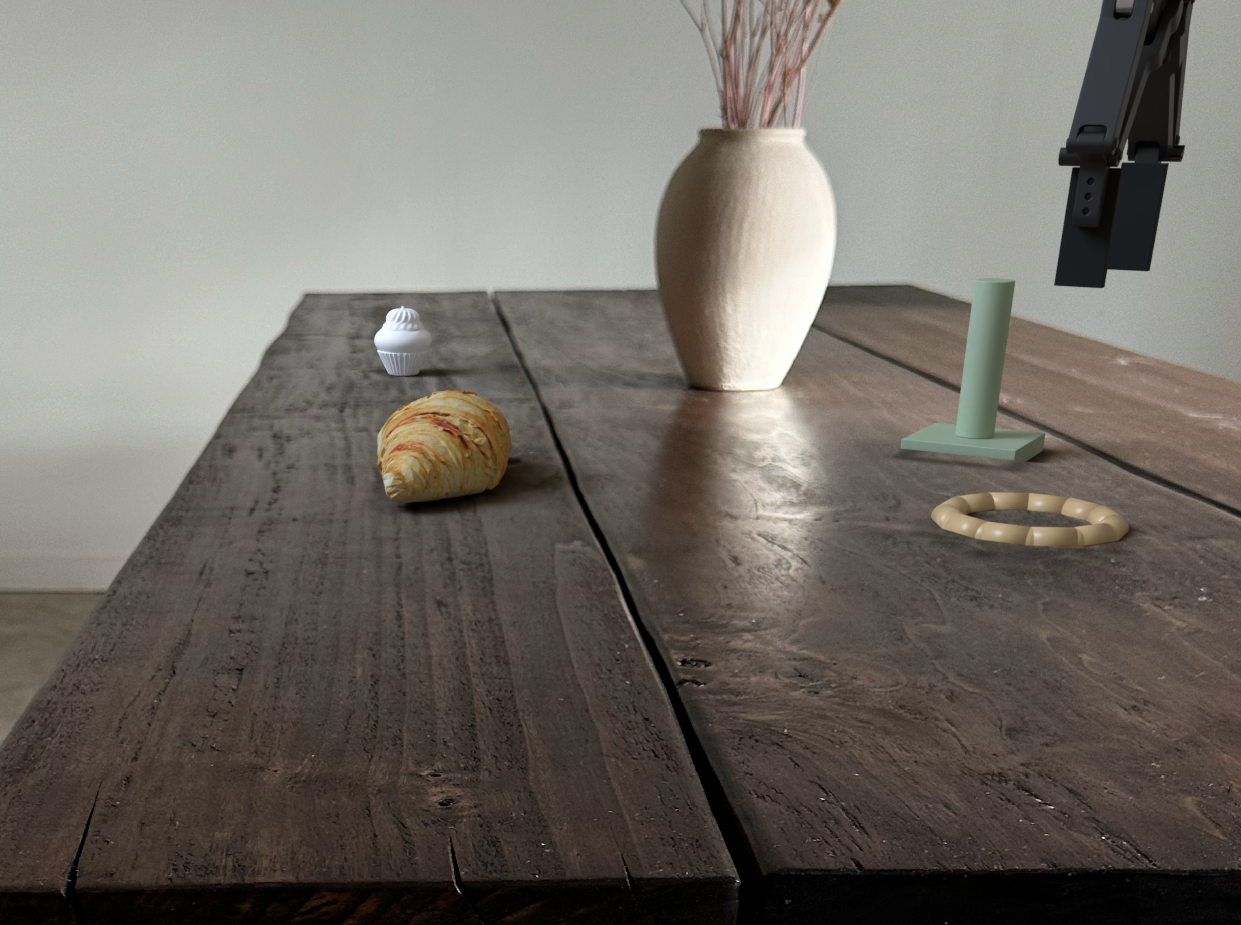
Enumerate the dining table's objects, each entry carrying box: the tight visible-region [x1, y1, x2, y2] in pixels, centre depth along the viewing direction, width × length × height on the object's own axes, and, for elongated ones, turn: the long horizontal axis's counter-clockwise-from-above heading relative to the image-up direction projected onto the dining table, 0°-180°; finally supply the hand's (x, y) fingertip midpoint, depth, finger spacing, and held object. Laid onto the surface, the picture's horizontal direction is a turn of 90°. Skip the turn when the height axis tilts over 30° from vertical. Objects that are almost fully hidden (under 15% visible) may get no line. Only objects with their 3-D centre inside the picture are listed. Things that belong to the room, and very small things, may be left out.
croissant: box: [376, 389, 512, 504], centre depth 118 cm, size 21×10×8 cm, turn 162°
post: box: [900, 277, 1046, 462], centre depth 127 cm, size 9×9×14 cm
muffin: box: [373, 305, 433, 377], centre depth 170 cm, size 6×6×7 cm
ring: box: [930, 491, 1130, 547], centre depth 104 cm, size 12×12×2 cm
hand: (1104, 278), depth 99 cm, fingers open, 13 cm apart
